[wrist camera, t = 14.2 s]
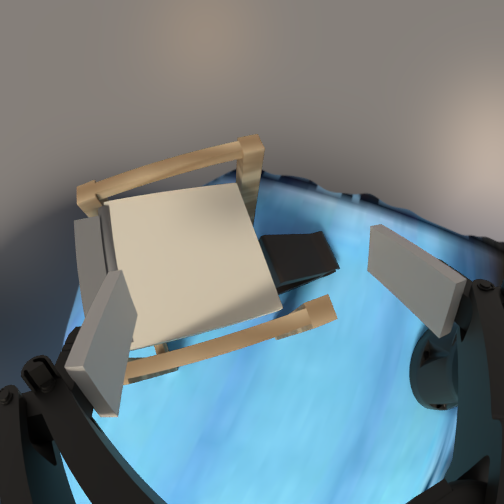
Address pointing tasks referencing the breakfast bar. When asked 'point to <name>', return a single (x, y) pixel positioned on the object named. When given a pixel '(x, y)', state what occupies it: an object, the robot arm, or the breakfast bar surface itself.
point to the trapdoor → (178, 261)
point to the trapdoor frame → (248, 180)
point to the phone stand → (297, 259)
